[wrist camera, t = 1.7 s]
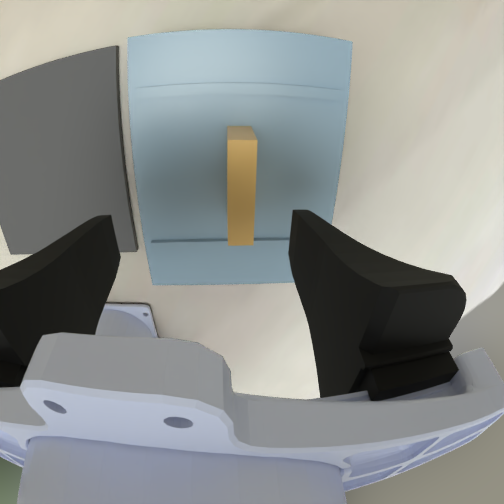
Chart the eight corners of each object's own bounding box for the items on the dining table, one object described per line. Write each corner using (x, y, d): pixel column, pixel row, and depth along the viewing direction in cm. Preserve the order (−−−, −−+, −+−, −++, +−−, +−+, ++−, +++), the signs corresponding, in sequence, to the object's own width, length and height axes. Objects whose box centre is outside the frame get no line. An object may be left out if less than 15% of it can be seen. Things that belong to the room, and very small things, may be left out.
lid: (314, 266, 22) (334, 317, 18) (157, 269, 21) (143, 322, 17) (340, 43, 14) (383, 37, 9) (137, 40, 13) (102, 30, 8)
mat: (138, 248, 24) (136, 251, 24) (13, 251, 23) (10, 254, 22) (118, 46, 15) (115, 45, 15) (-22, 91, 14) (-26, 92, 14)
